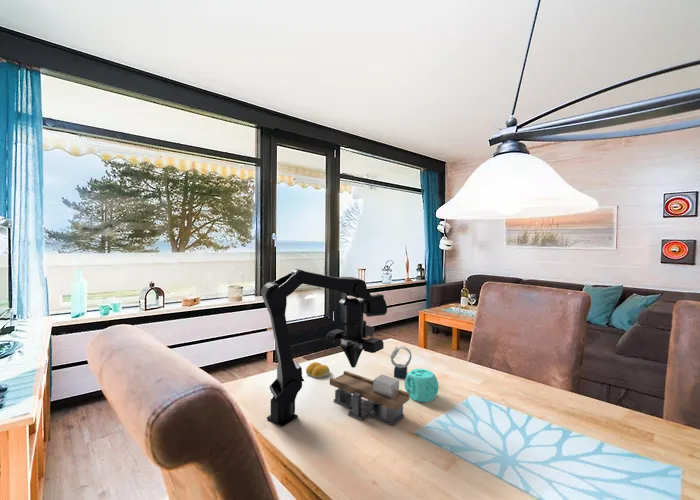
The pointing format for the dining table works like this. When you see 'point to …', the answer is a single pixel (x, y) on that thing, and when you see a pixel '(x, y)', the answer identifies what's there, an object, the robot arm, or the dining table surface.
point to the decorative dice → (421, 385)
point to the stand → (367, 408)
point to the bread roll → (317, 370)
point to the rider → (386, 387)
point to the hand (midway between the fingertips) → (353, 367)
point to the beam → (367, 390)
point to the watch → (399, 369)
